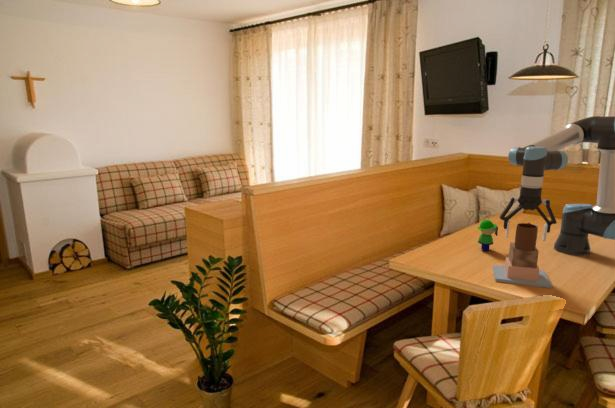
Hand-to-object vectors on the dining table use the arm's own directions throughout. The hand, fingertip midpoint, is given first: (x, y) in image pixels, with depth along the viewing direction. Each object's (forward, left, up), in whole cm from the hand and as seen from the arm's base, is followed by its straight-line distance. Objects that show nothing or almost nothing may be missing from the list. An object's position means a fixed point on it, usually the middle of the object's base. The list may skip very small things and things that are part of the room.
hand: (525, 238), depth 172 cm
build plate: (0, 0, -17) cm, 17 cm away
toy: (+12, -33, -17) cm, 39 cm away
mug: (0, 0, -4) cm, 4 cm away
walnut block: (0, 0, -10) cm, 10 cm away
